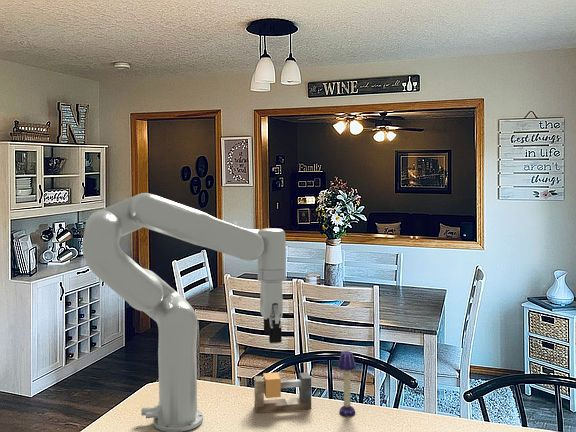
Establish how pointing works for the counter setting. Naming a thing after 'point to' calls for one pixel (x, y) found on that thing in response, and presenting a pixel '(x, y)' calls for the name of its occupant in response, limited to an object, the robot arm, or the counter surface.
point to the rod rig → (286, 403)
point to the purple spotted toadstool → (346, 381)
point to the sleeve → (272, 385)
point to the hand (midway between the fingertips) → (272, 337)
